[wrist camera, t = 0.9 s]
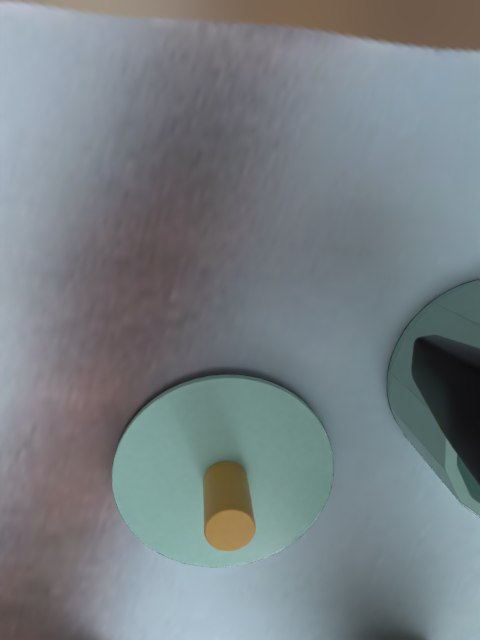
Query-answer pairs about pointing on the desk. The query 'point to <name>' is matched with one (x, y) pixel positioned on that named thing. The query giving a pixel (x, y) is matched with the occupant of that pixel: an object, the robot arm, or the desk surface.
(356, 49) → the desk surface
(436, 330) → the tin
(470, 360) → the robot arm
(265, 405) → the lid
